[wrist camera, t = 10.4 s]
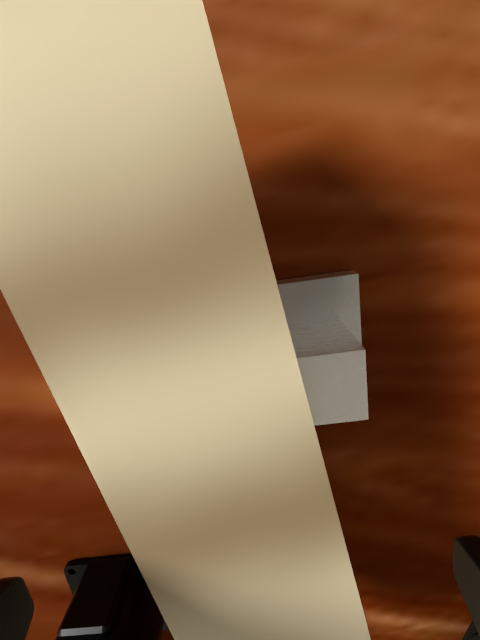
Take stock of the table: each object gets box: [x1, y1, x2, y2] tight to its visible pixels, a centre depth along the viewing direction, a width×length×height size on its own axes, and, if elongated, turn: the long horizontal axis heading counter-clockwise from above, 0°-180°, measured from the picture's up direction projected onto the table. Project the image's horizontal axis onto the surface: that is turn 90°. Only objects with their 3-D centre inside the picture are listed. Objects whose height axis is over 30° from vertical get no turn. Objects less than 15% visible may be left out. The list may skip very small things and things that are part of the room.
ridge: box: [276, 270, 369, 426], centre depth 17 cm, size 7×12×5 cm, turn 98°
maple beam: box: [0, 0, 371, 640], centre depth 11 cm, size 24×5×6 cm, turn 16°
